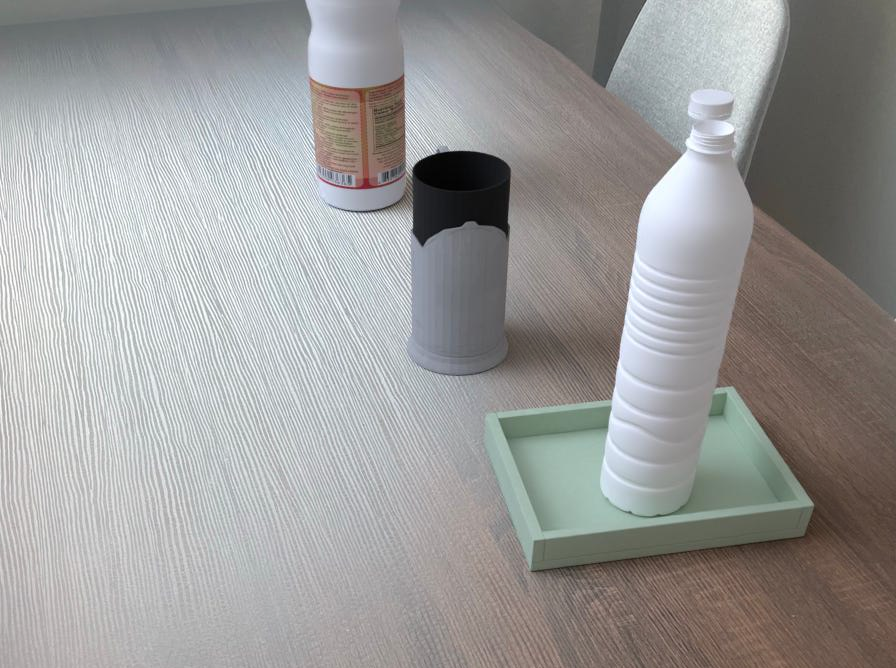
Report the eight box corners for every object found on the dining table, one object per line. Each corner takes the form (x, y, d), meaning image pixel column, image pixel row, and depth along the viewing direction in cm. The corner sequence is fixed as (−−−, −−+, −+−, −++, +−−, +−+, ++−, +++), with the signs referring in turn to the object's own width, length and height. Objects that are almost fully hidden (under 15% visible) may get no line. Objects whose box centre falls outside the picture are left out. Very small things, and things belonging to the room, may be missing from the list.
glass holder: (415, 379, 85) (413, 199, 74) (391, 295, 95) (386, 124, 84) (518, 369, 86) (531, 190, 75) (484, 286, 95) (491, 117, 84)
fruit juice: (317, 215, 106) (291, -116, 85) (318, 176, 112) (294, -140, 92) (408, 212, 106) (403, -118, 86) (404, 173, 113) (399, -142, 92)
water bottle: (691, 523, 71) (780, 152, 53) (596, 513, 72) (652, 145, 54) (689, 448, 77) (769, 91, 59) (602, 440, 78) (654, 85, 59)
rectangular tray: (725, 416, 81) (733, 385, 79) (804, 536, 71) (815, 505, 69) (483, 443, 79) (485, 413, 77) (530, 571, 69) (533, 540, 67)
